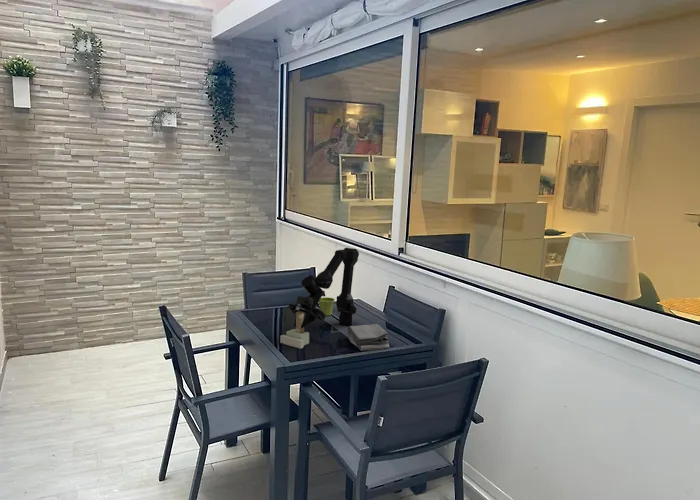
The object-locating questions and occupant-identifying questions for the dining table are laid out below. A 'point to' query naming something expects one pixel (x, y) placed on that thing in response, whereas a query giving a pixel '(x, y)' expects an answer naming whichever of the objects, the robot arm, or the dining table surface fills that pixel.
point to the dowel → (299, 322)
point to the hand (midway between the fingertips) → (298, 327)
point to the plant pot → (326, 305)
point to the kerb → (291, 341)
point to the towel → (368, 337)
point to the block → (299, 335)
